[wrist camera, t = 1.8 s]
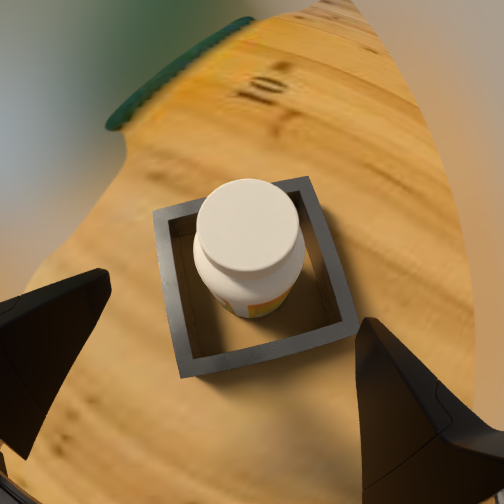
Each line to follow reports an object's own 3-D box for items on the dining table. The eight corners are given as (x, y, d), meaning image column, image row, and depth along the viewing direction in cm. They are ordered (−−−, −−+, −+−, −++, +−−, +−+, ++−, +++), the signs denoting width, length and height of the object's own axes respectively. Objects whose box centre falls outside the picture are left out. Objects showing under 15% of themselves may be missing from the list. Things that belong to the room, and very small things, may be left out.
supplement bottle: (295, 252, 21) (325, 176, 11) (281, 326, 19) (306, 305, 10) (223, 237, 21) (201, 155, 12) (204, 309, 19) (160, 272, 10)
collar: (346, 334, 19) (361, 331, 16) (191, 374, 18) (180, 378, 15) (302, 196, 22) (308, 175, 19) (164, 228, 21) (152, 211, 18)
